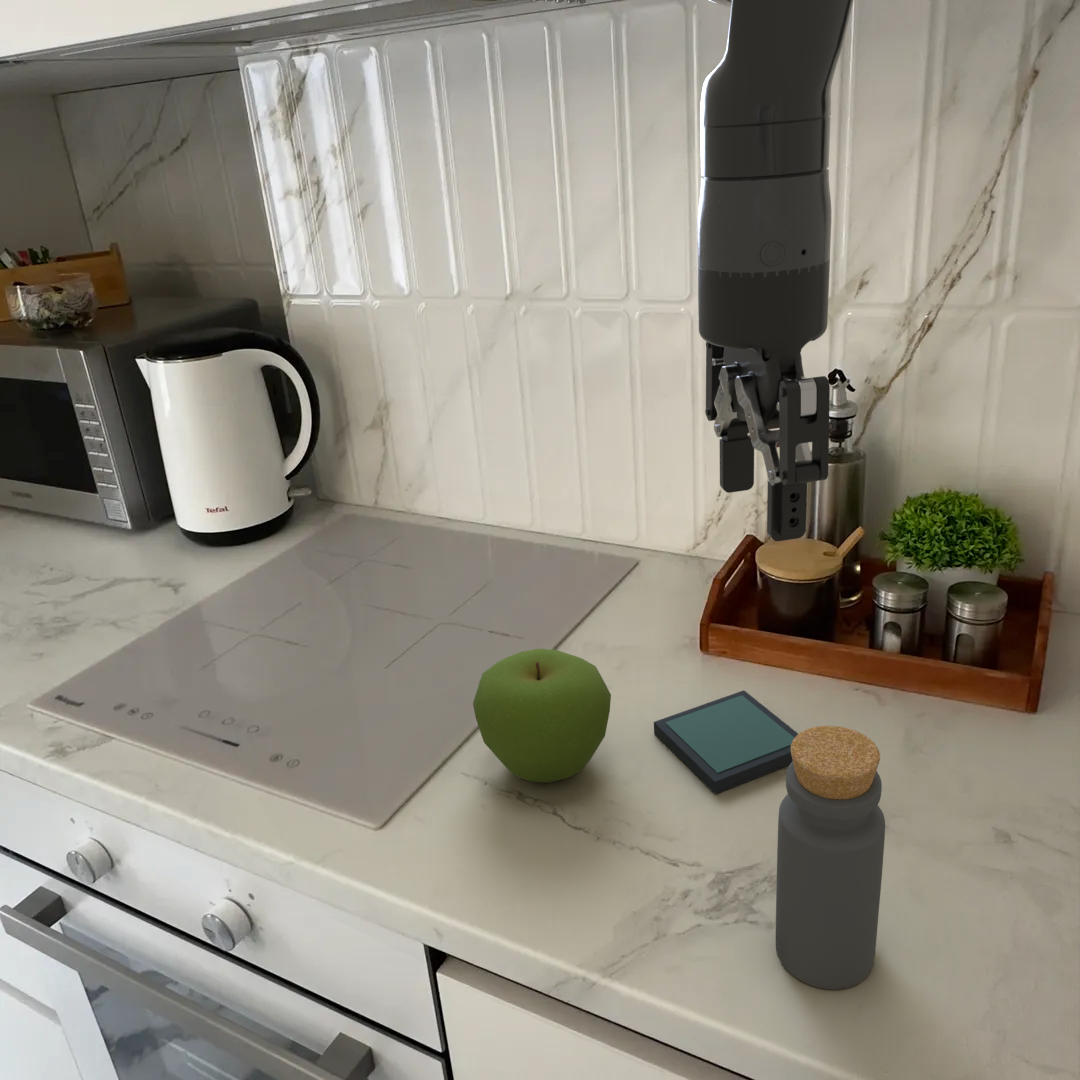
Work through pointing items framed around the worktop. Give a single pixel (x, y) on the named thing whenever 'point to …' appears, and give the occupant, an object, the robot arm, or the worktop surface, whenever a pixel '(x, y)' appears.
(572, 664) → the apple
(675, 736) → the teal square coaster
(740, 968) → the worktop surface
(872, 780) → the bottle
